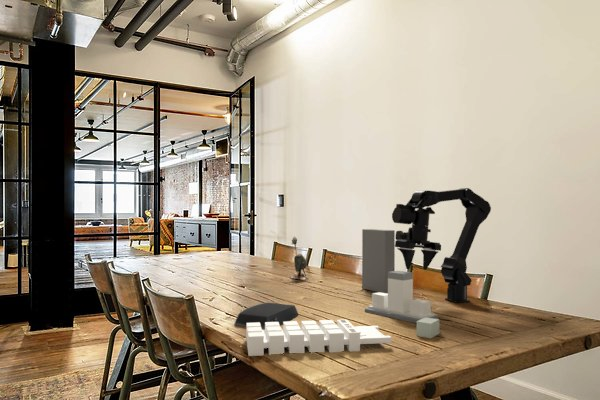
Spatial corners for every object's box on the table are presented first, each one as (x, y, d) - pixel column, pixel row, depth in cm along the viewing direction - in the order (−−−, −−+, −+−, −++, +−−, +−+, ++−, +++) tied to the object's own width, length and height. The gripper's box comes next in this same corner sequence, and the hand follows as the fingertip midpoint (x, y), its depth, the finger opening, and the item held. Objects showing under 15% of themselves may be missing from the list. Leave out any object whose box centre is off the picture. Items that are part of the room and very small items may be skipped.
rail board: (384, 307, 163) (384, 291, 163) (437, 318, 147) (437, 300, 147) (364, 311, 156) (364, 294, 156) (418, 323, 140) (418, 304, 140)
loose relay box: (425, 331, 132) (425, 317, 132) (439, 334, 130) (439, 319, 130) (416, 336, 127) (416, 321, 128) (430, 338, 125) (430, 323, 125)
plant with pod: (294, 281, 218) (294, 237, 218) (288, 277, 229) (288, 236, 229) (311, 280, 220) (311, 237, 221) (304, 276, 231) (304, 235, 232)
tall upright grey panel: (396, 292, 191) (396, 230, 191) (385, 294, 187) (385, 230, 187) (372, 287, 202) (372, 228, 202) (361, 289, 199) (361, 229, 199)
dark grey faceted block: (231, 326, 139) (231, 312, 139) (265, 312, 156) (265, 300, 156) (270, 331, 133) (270, 316, 133) (300, 317, 150) (300, 304, 150)
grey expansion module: (397, 307, 155) (397, 270, 156) (412, 310, 151) (412, 272, 151) (387, 309, 152) (387, 272, 152) (403, 312, 148) (403, 274, 148)
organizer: (246, 322, 123) (376, 318, 128) (246, 341, 123) (376, 336, 128) (248, 336, 110) (393, 331, 115) (248, 357, 110) (393, 350, 115)
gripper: (419, 226, 181) (415, 266, 180) (385, 222, 170) (381, 265, 169) (443, 228, 172) (440, 271, 171) (409, 224, 161) (405, 270, 160)
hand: (416, 269), depth 168 cm, fingers open, 9 cm apart
